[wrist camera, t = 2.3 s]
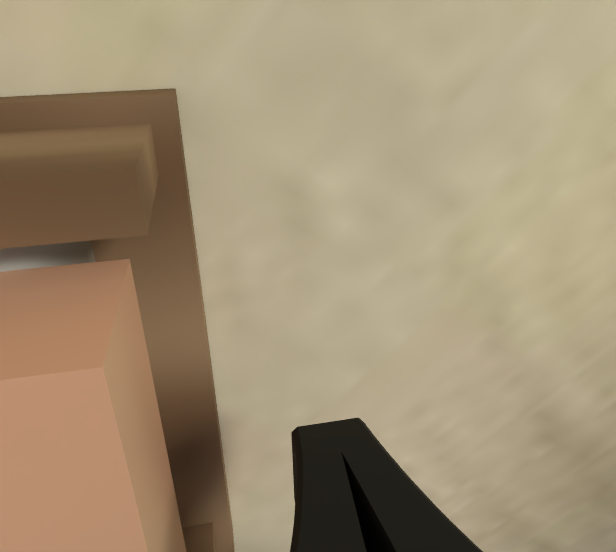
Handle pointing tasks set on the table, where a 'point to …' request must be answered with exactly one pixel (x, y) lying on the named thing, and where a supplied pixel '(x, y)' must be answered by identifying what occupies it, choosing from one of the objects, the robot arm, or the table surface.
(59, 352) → the tile
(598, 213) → the table surface
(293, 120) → the table surface
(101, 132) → the track
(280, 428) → the table surface
